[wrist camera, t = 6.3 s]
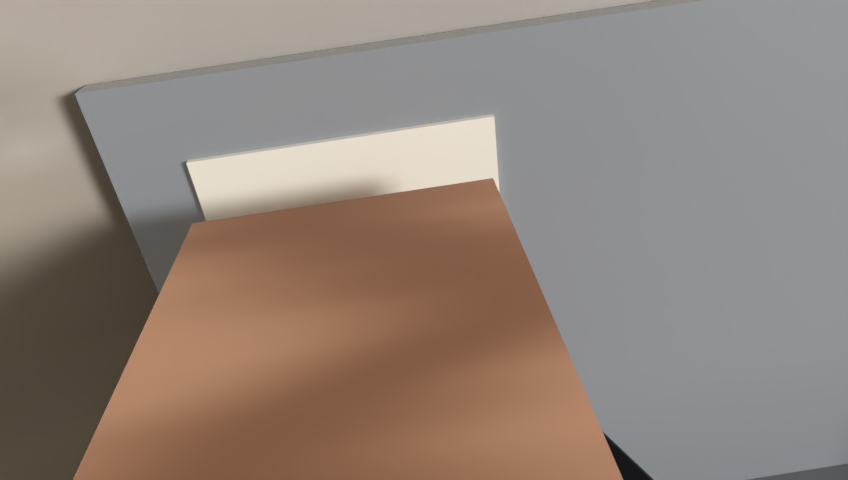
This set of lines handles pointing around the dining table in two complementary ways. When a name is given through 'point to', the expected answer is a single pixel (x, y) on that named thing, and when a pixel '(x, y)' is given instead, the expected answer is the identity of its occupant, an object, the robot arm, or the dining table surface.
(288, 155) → the two-wall tray
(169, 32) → the dining table surface
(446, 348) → the terracotta block
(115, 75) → the dining table surface
